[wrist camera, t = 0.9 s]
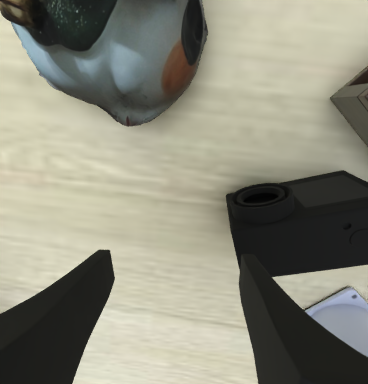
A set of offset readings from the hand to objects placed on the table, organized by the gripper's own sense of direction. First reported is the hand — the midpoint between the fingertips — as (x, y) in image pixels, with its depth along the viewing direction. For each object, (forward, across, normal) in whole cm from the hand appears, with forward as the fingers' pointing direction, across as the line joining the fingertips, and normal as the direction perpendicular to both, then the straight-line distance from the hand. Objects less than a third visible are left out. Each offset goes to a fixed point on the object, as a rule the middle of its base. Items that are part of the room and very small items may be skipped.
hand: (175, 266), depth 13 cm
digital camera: (+10, -9, 0) cm, 14 cm away
